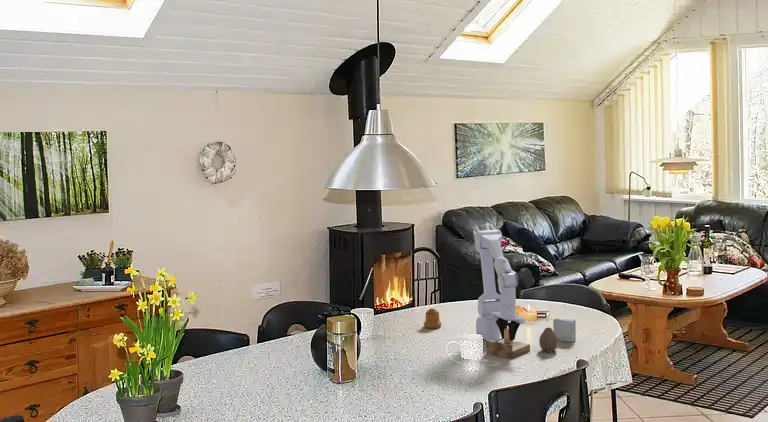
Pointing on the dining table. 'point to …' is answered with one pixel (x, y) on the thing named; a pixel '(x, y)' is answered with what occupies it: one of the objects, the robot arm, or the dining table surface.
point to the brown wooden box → (506, 348)
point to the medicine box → (565, 329)
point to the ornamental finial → (432, 319)
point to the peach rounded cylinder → (507, 336)
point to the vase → (548, 340)
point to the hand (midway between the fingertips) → (508, 339)
